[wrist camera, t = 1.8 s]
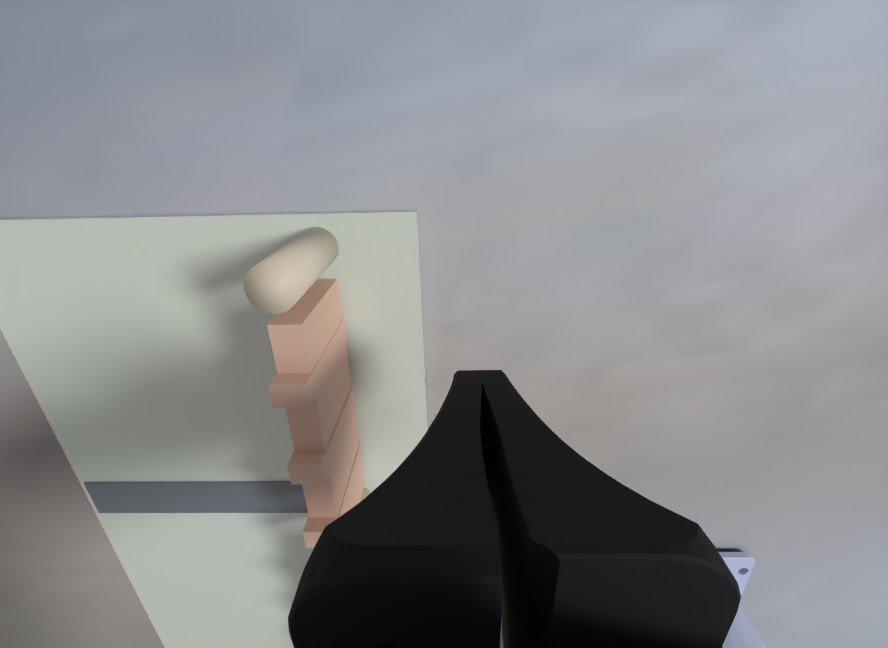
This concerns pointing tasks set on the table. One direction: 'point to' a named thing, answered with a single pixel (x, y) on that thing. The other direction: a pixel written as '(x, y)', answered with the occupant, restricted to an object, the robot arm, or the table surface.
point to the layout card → (204, 394)
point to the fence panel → (312, 374)
